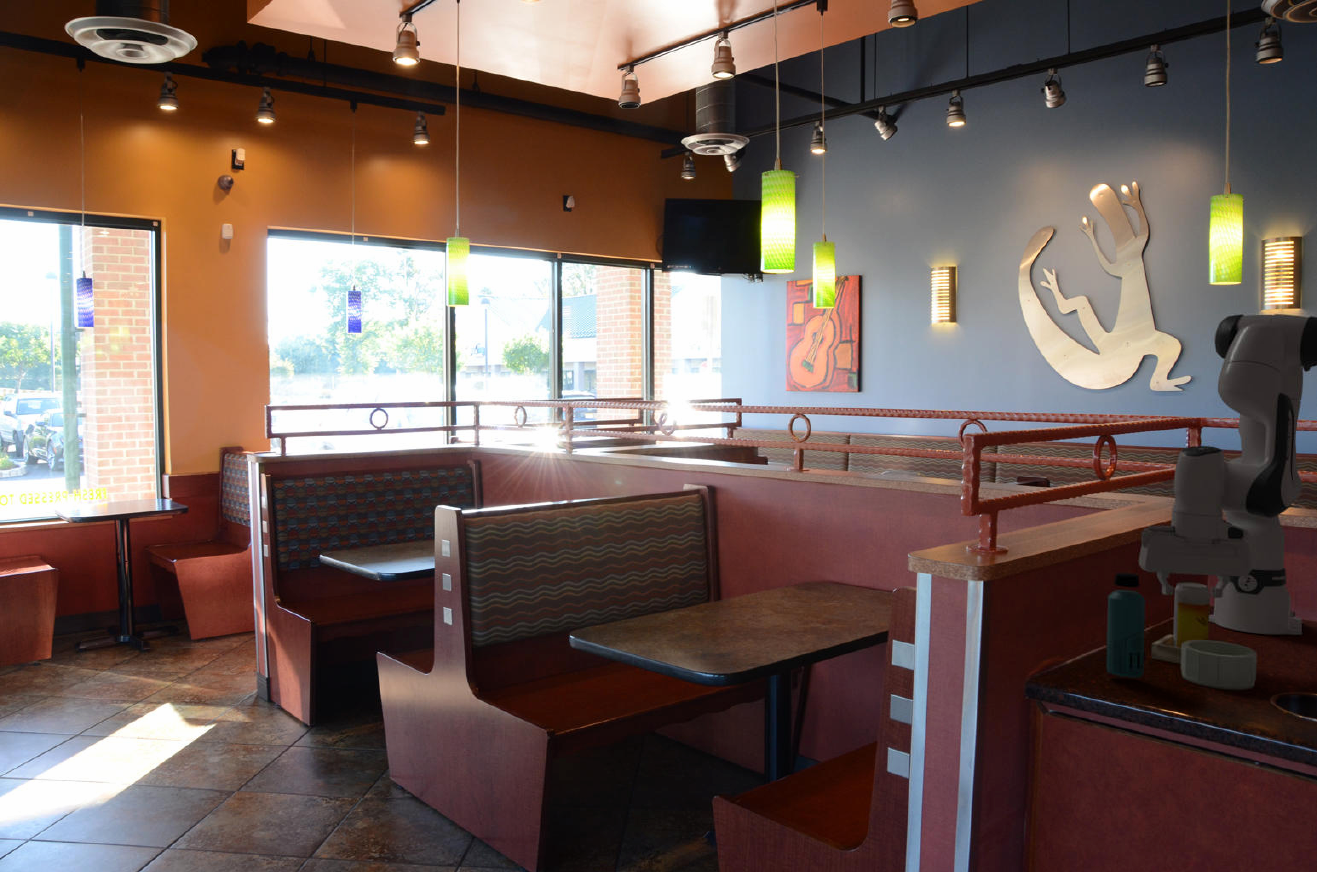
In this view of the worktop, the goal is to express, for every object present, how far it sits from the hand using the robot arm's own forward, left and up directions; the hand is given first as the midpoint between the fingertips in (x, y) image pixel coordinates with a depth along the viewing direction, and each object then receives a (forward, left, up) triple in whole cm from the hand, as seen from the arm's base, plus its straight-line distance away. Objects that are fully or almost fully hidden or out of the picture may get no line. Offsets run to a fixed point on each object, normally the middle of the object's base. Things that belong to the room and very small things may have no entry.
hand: (1191, 595), depth 187 cm
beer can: (0, 0, -13) cm, 13 cm away
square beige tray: (0, 0, -13) cm, 13 cm away
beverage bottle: (+25, -4, -13) cm, 28 cm away
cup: (+12, +8, -13) cm, 19 cm away
